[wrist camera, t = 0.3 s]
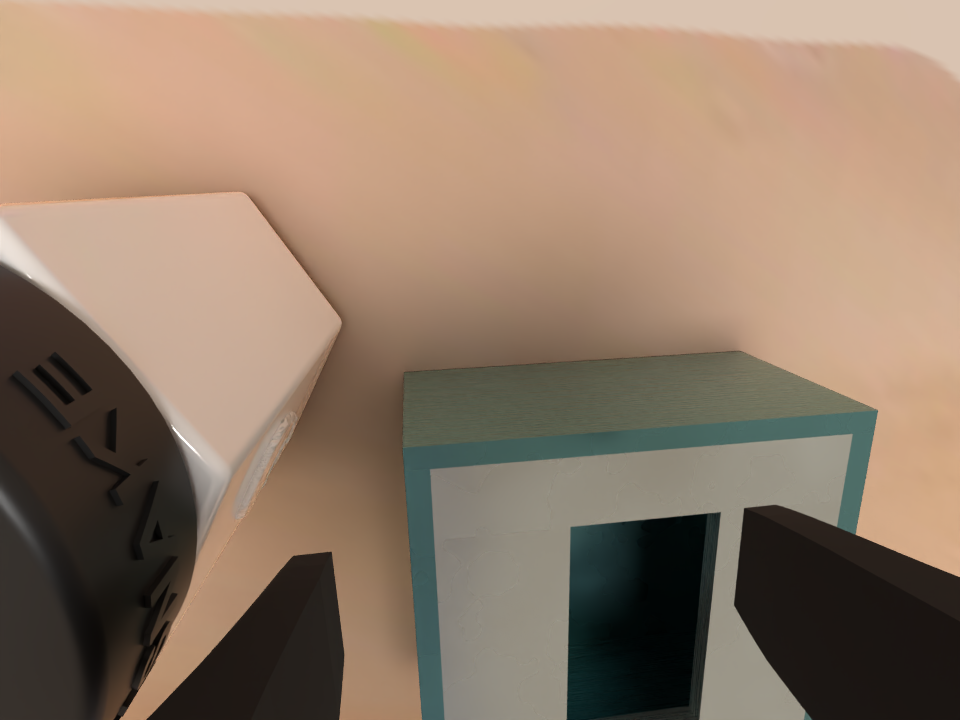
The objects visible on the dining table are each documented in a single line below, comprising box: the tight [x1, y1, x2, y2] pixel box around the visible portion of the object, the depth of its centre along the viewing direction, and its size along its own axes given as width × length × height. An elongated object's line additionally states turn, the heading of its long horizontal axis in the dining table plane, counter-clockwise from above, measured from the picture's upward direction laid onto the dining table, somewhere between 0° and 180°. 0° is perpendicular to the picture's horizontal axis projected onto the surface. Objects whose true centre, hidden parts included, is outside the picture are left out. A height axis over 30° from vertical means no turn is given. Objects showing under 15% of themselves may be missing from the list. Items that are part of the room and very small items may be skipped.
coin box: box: [403, 351, 878, 720], centre depth 18 cm, size 12×12×6 cm
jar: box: [0, 192, 342, 720], centre depth 11 cm, size 9×8×12 cm
